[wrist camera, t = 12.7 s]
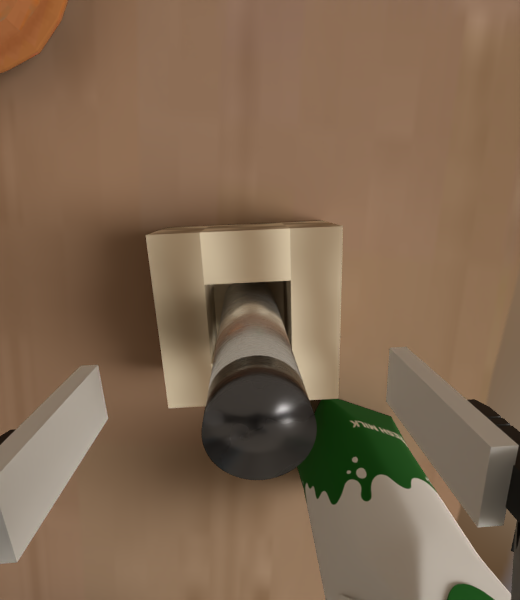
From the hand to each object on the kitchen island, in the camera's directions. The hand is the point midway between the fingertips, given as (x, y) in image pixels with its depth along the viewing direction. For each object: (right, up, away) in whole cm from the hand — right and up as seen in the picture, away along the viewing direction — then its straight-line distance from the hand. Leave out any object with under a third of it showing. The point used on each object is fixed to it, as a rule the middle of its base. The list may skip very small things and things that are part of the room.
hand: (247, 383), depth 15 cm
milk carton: (+8, -9, +17) cm, 21 cm away
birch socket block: (0, +4, +13) cm, 13 cm away
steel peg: (0, +4, +12) cm, 12 cm away
